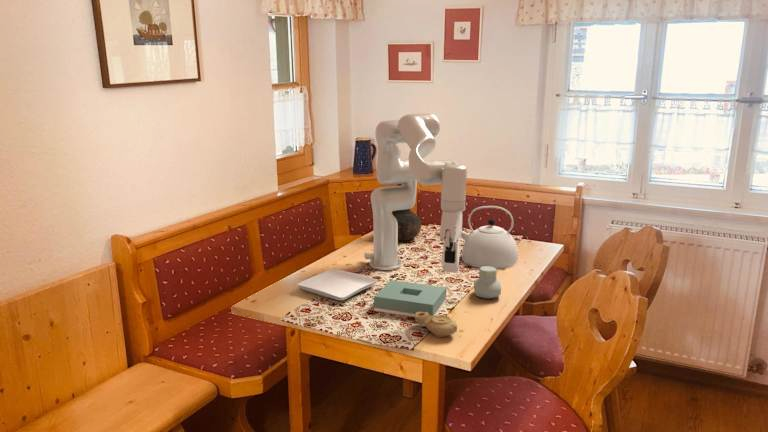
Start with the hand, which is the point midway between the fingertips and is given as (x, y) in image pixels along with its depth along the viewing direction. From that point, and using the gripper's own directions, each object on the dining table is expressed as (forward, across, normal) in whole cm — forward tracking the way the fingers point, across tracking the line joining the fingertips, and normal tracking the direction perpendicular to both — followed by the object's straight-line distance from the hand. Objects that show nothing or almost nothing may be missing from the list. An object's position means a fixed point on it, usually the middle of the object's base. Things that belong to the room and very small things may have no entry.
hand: (451, 260), depth 198 cm
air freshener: (+19, -20, +8) cm, 28 cm away
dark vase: (+20, -74, -42) cm, 87 cm away
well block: (+19, -2, -14) cm, 23 cm away
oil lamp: (+19, +14, -1) cm, 23 cm away
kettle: (+19, -59, 0) cm, 62 cm away
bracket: (+3, 0, 0) cm, 3 cm away
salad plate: (+19, -7, -43) cm, 47 cm away
